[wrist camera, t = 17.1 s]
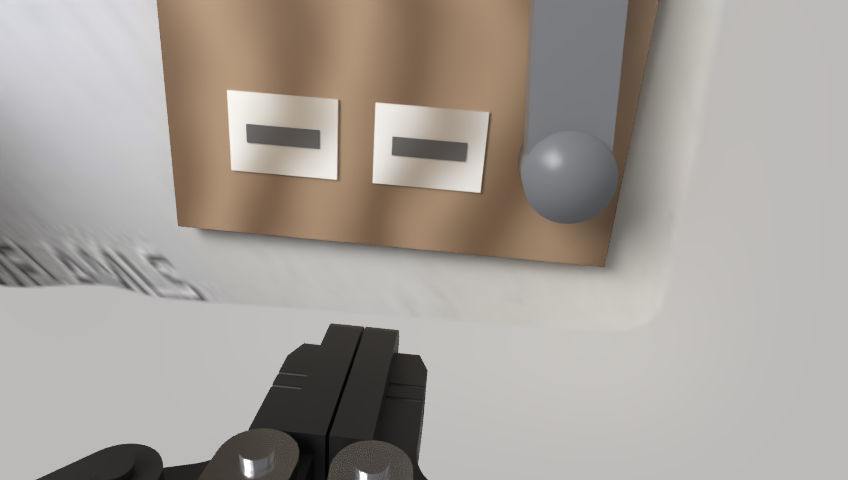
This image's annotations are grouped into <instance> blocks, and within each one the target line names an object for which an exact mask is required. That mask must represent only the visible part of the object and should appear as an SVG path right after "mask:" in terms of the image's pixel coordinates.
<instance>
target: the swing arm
mask: <svg viewBox="0 0 848 480" xmlns="http://www.w3.org/2000/svg"><path fill="white" fill-rule="evenodd" d="M627 8H628V0H530V17H529V38H528V60H527V81H526V103H525V124H524V143H523V144H522V147H521V149H520V153H519V158H518V167H519V172H520V176H521V180H522V184H523V188H524V191H525V195H526V198H527V200H528V202H529V203H530V205H531V207H532V208H533V209H534V210H535V211H536V212H537V213H538V214H539V215H541V216H542V217H544V218H546V219H548V220H550V221H553V222H556V223H561V224H574V223H579V222H583V221H586V220H588V219H591V218H592V217H594V216H596V215H597V214H599V213H600V212H601V211H602V210H603V209H604V208H605V207H606V206H607V205H608V204H609V202H610V201H611V199H612V198H613V196H614V193H615V191H616V188H617V183H618V168H617V164H616V161H615V159H614V157H613V155H612V152H613V143H614V133H615V123H616V114H617V104H618V94H619V85H620V75H621V66H622V56H623V46H624V37H625V27H626V18H627Z"/></svg>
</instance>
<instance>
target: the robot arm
mask: <svg viewBox="0 0 848 480" xmlns="http://www.w3.org/2000/svg"><path fill="white" fill-rule="evenodd" d="M398 345H399V330H391V329H381V328H372V327H366V328H365V329H364V327H361V326H351V325H341V324H330V326H329V328H328V330H327V332H326V334H325V337H324V339H323V341H322V343H321V345H313V344H305V343H304V344H303V345H301V346H300V347H299V348H297V349H296V350H295V351H293V352H292V353H291V354H289V355H288V356H287V358H286V360H285V362H284V364H283V365H282V367H281V369H280V371H279V374H278V375H277V377H276V379H275V380H274V382H273V386H272V387H271V388H270V390H269V392H268V394H267V396H266V398H265V399H264V401H263V403H262V406H261V407H260V409H259V411H258V413H257V415H256V416H255V418H254V420H253V422H252V424H251V426H250V428H249V430H248V431H245V432H242V433H239V434H237V435H235V436H233V437H232V438H230V439H228V440H227V441H226V442H225V443H224V444H222V446H221V447H220V448H219V449H218V450H217V452H216V453H215V455H214V456H213V458H212V459H211V460H209V461H206V462H201V463H197V464H189V465H181V466H174V467H166V468H163V462H162V459H161V456H160V455H159V453H158V452H156V451H155V450H154V449H152V448H151V447H148V446H145V445H140V444H121V445H116V446H112V447H109V448H105V449H103V450H100V451H98V452H96V453H93V454H91V455H89V456H87V457H85V458H82V459H81V460H78V461H76V462H74V463H72V464H70V465H67V466H65V467H63V468H61V469H58V470H56V471H54V472H52V473H50V474H48V475H46V476H43V477H41V478H39V479H37V480H427V479H426V477H424V475H423V474H422V472H421V470H420V468H419V466H418V459H419V451H420V444H421V435H422V426H423V415H424V404H425V392H426V381H427V369H426V367H425V365H424V363H423V361H422V359H421V357H420V356H419V355H411V354H400V353H398Z"/></svg>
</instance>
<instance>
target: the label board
mask: <svg viewBox="0 0 848 480" xmlns="http://www.w3.org/2000/svg"><path fill="white" fill-rule="evenodd" d="M658 3H659V0H628V8H627V18H626V27H625V37H624V46H623V56H622V66H621V75H620V85H619V94H618V104H617V114H616V123H615V133H614V143H613V152H612V155H613V157H614V159H615V161H616V164H617V168H618V183H617V188H616V191H615V193H614V196H613V198H612V199H611V201H610V202H609V204H608V205H607V206H606V207H605V208H604V209H603V210H602V211H601V212H600V213H599V214H597V215H596V216H594V217H592V218H591V219H588V220H586V221H583V222H579V223H574V224H561V223H556V222H553V221H550V220H548V219H546V218H544V217H542V216H541V215H539V214H538V213H537V212H536V211H535V210H534V209H533V208H532V207H531V205H530V203H529V202H528V200H527V198H526V195H525V191H524V188H523V184H522V180H521V176H520V172H519V167H518V158H519V153H520V149H521V147H522V144H523V143H524V124H525V103H526V81H527V60H528V38H529V17H530V0H157V8H158V19H159V29H160V40H161V50H162V61H163V71H164V82H165V92H166V103H167V113H168V124H169V134H170V145H171V155H172V166H173V176H174V187H175V198H176V208H177V219H178V226H181V227H192V228H202V229H213V230H223V231H234V232H244V233H255V234H265V235H275V236H286V237H296V238H307V239H317V240H328V241H338V242H349V243H359V244H369V245H380V246H390V247H401V248H411V249H422V250H432V251H443V252H453V253H463V254H474V255H484V256H495V257H505V258H516V259H526V260H537V261H547V262H557V263H568V264H578V265H589V266H599V267H604V266H605V261H606V256H607V252H608V247H609V242H610V237H611V232H612V227H613V222H614V217H615V213H616V208H617V203H618V198H619V193H620V188H621V183H622V178H623V174H624V169H625V164H626V159H627V154H628V149H629V144H630V139H631V135H632V130H633V125H634V120H635V115H636V110H637V105H638V100H639V96H640V91H641V86H642V81H643V76H644V71H645V66H646V61H647V57H648V52H649V47H650V42H651V37H652V32H653V27H654V23H655V18H656V13H657V8H658Z"/></svg>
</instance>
